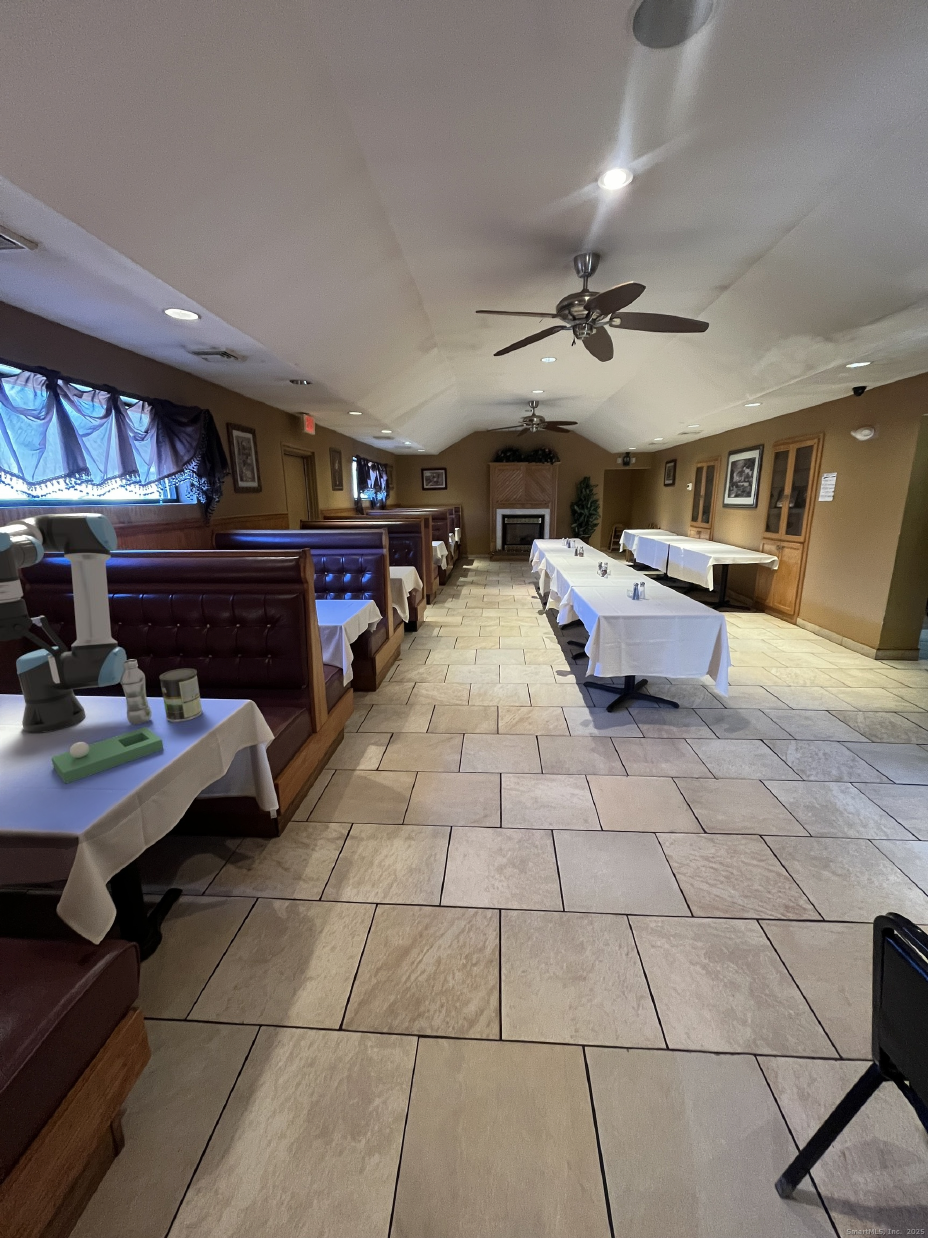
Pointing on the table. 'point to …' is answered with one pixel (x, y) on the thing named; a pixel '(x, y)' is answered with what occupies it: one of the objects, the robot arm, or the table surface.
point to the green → (107, 754)
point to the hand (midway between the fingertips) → (23, 689)
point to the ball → (79, 749)
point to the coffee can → (181, 694)
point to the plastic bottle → (135, 693)
